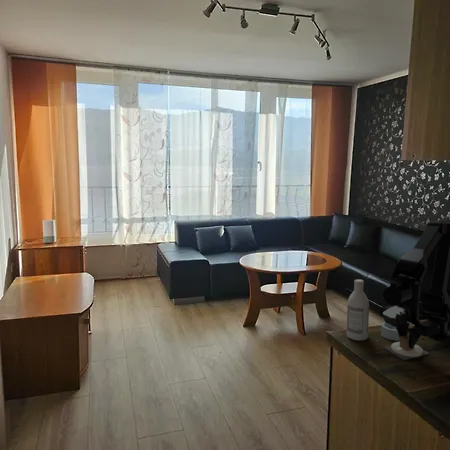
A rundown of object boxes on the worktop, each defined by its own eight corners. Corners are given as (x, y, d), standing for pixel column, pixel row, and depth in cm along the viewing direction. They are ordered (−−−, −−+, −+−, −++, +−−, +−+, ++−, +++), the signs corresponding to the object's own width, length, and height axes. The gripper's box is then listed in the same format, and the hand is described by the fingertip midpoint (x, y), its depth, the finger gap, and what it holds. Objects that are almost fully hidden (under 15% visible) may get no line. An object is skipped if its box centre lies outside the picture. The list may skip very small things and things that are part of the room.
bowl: (394, 329, 144) (394, 320, 143) (411, 338, 136) (411, 328, 136) (376, 333, 141) (376, 323, 140) (392, 342, 134) (393, 332, 133)
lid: (406, 342, 132) (407, 329, 132) (429, 353, 124) (430, 340, 123) (385, 346, 129) (385, 334, 129) (406, 359, 121) (407, 345, 120)
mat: (409, 343, 132) (409, 342, 132) (429, 354, 125) (429, 353, 125) (384, 349, 129) (384, 347, 129) (403, 360, 121) (403, 358, 121)
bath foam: (357, 331, 143) (359, 276, 140) (372, 338, 137) (374, 281, 134) (342, 335, 140) (343, 279, 137) (356, 342, 134) (358, 284, 131)
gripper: (367, 292, 130) (366, 338, 132) (412, 312, 113) (410, 364, 115) (395, 288, 134) (392, 332, 136) (442, 306, 116) (439, 357, 119)
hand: (407, 345), depth 126 cm, fingers closed on lid, 3 cm apart
